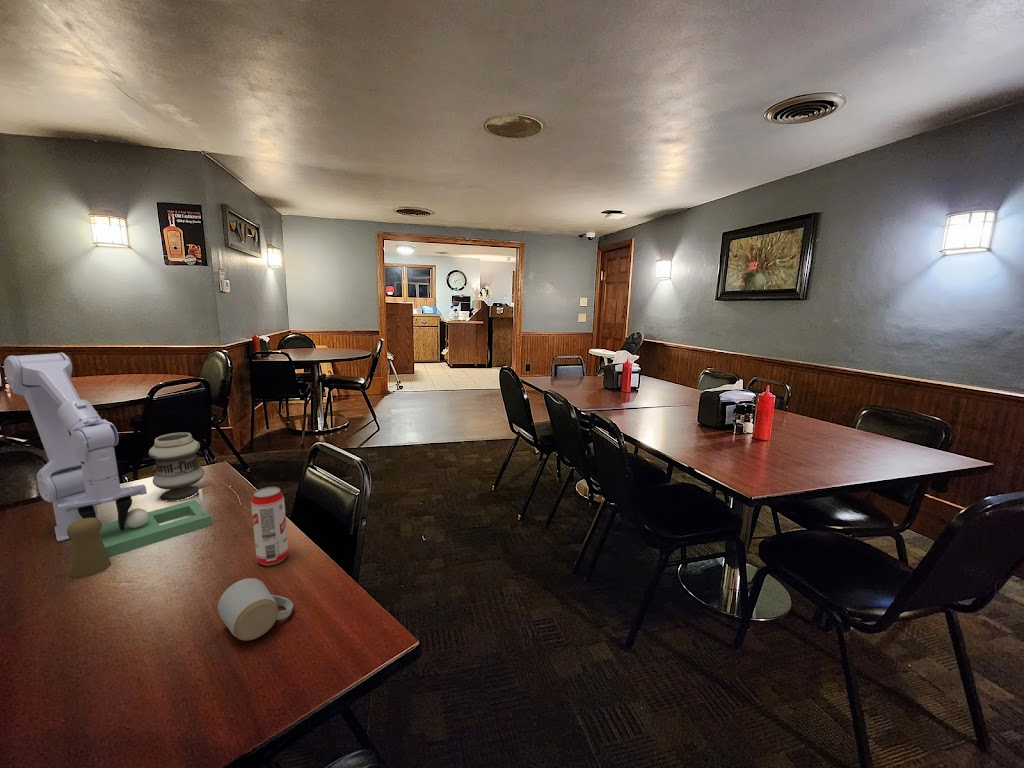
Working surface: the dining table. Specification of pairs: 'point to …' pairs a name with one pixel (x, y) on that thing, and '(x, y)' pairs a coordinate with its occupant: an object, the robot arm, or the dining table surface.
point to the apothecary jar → (176, 465)
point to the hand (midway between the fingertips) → (110, 532)
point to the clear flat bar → (201, 493)
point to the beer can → (269, 526)
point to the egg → (136, 518)
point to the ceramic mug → (251, 609)
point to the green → (154, 528)
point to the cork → (87, 548)
